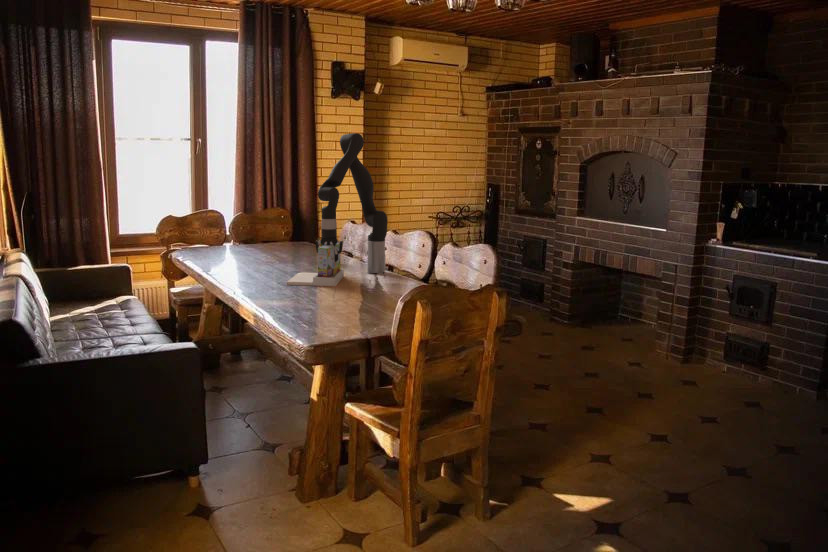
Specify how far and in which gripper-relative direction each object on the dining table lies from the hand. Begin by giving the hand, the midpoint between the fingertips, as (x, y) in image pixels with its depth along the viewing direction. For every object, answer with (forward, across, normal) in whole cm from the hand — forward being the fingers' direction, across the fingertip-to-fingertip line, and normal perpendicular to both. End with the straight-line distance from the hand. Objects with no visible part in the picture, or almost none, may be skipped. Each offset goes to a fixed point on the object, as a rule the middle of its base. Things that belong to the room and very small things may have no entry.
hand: (329, 261), depth 345 cm
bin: (+10, 0, 0) cm, 10 cm away
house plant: (+10, +11, -51) cm, 53 cm away
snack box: (+7, 0, 0) cm, 7 cm away
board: (+10, +12, 0) cm, 16 cm away
